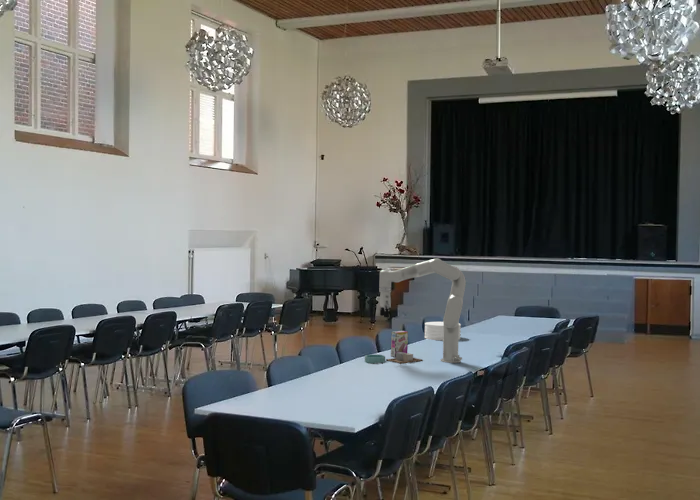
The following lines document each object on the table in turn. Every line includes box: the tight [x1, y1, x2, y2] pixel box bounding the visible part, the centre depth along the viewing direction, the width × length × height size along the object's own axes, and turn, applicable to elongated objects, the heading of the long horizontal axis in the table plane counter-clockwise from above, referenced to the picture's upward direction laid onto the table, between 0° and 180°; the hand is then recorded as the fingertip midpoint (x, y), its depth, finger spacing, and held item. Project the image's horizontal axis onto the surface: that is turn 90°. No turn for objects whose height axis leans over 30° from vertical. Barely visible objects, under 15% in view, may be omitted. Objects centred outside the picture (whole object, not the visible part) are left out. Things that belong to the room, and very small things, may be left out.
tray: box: [385, 357, 423, 364], centre depth 473 cm, size 14×18×1 cm
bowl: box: [364, 354, 386, 364], centre depth 470 cm, size 12×12×4 cm
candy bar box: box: [390, 330, 409, 358], centre depth 492 cm, size 11×5×16 cm, turn 130°
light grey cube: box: [395, 352, 406, 361], centre depth 475 cm, size 4×4×5 cm
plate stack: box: [424, 321, 462, 341], centre depth 587 cm, size 28×28×12 cm
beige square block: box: [403, 352, 414, 362], centre depth 470 cm, size 4×4×5 cm
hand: (384, 316), depth 479 cm, fingers open, 9 cm apart
